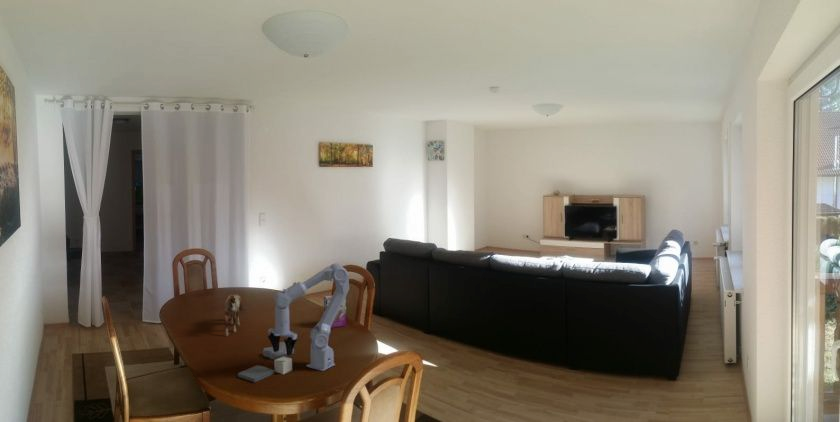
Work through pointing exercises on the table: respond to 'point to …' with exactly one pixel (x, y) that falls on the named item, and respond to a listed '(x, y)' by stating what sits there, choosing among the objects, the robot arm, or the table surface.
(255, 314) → the table surface
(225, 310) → the brown animal figure
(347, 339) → the table surface
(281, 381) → the table surface
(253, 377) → the slate tile
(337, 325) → the candy bar box
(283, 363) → the cube
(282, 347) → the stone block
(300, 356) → the table surface
